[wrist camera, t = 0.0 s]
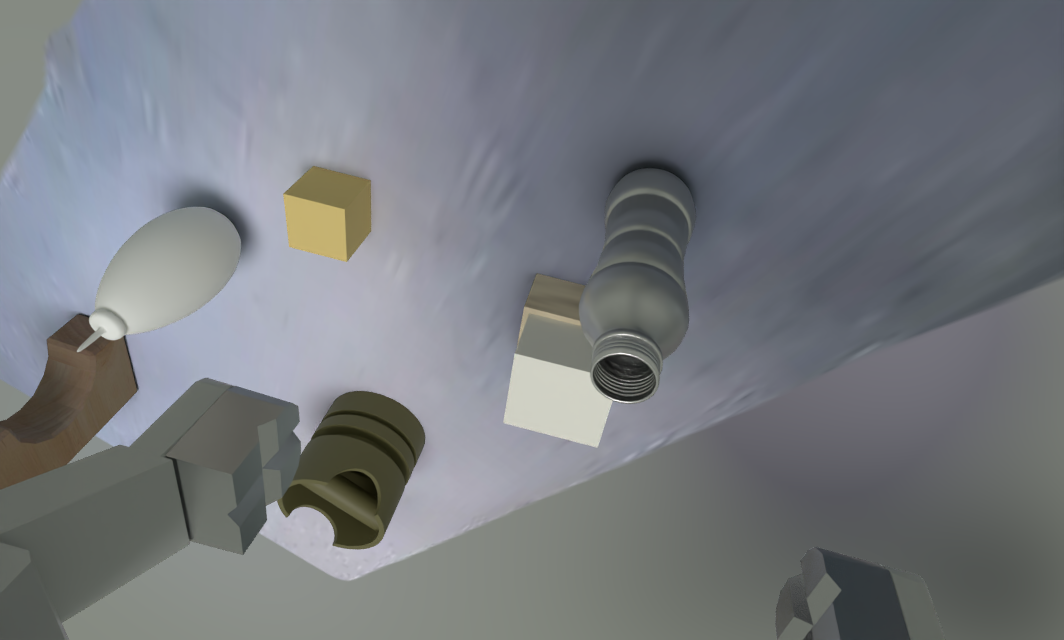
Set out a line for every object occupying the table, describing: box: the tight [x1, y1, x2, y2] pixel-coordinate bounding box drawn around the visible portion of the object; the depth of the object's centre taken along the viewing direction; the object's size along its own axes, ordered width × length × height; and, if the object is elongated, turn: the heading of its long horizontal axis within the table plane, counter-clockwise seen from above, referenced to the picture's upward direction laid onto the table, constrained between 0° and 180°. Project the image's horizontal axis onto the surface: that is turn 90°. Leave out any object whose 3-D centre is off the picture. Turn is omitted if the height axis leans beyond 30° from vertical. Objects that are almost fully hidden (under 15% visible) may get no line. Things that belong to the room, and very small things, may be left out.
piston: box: [277, 391, 425, 549], centre depth 69 cm, size 11×12×11 cm
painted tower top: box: [503, 313, 612, 448], centre depth 53 cm, size 8×8×5 cm
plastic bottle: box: [579, 168, 696, 404], centre depth 42 cm, size 6×7×20 cm
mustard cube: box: [283, 166, 371, 262], centre depth 54 cm, size 5×5×5 cm
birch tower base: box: [517, 274, 585, 346], centre depth 57 cm, size 9×9×5 cm
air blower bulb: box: [77, 207, 241, 352], centre depth 53 cm, size 8×8×18 cm
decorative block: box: [0, 315, 137, 490], centre depth 69 cm, size 11×6×20 cm, turn 165°
